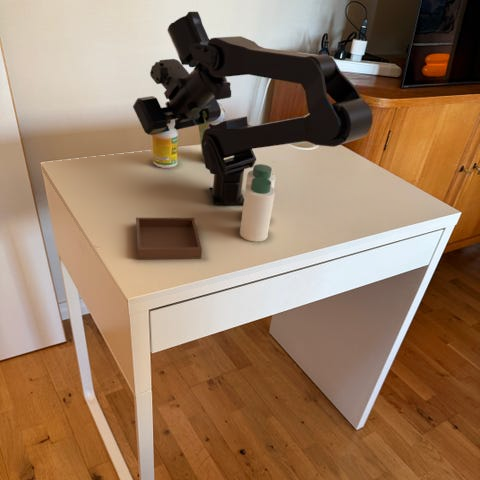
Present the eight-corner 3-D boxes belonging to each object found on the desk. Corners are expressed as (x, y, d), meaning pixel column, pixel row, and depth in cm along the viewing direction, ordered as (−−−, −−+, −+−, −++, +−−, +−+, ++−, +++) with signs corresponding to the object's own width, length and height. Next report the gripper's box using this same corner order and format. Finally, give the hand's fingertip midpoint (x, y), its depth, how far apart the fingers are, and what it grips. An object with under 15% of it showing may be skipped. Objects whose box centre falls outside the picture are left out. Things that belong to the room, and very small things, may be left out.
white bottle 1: (239, 212, 87) (245, 161, 81) (264, 212, 88) (272, 162, 82) (244, 225, 83) (251, 173, 77) (270, 225, 85) (280, 174, 78)
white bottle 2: (237, 227, 83) (243, 174, 76) (263, 227, 84) (272, 175, 77) (242, 241, 79) (250, 188, 73) (270, 241, 80) (280, 188, 74)
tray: (136, 227, 79) (135, 217, 77) (193, 227, 81) (194, 217, 80) (138, 259, 71) (137, 249, 70) (201, 258, 74) (201, 248, 72)
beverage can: (232, 162, 104) (236, 107, 96) (204, 167, 101) (206, 110, 93) (219, 152, 108) (222, 98, 100) (191, 156, 105) (192, 101, 97)
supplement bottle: (156, 157, 102) (155, 112, 96) (179, 160, 102) (180, 116, 96) (150, 166, 98) (149, 120, 92) (174, 170, 98) (175, 124, 92)
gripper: (216, 44, 89) (178, 89, 101) (137, 49, 78) (105, 99, 90) (240, 98, 90) (199, 136, 103) (166, 112, 79) (130, 152, 91)
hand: (160, 130), depth 97 cm, fingers closed on supplement bottle, 5 cm apart
